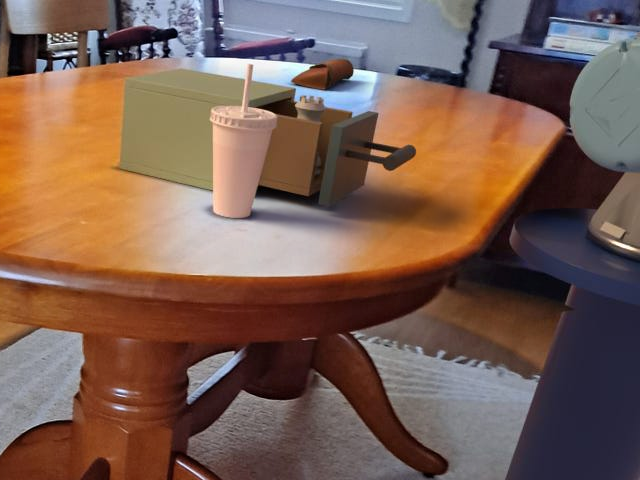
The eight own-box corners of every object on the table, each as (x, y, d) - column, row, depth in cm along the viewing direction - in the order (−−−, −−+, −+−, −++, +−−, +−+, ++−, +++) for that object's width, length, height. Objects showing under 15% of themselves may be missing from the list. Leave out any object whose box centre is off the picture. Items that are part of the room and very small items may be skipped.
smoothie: (196, 217, 81) (213, 64, 74) (202, 199, 86) (218, 55, 80) (262, 225, 80) (285, 72, 74) (264, 207, 86) (285, 63, 79)
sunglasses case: (313, 72, 177) (333, 45, 173) (337, 94, 176) (359, 68, 172) (288, 81, 162) (310, 52, 158) (315, 105, 162) (338, 77, 158)
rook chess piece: (304, 167, 94) (317, 93, 90) (328, 178, 90) (342, 101, 86) (270, 169, 92) (282, 93, 88) (293, 180, 88) (306, 101, 84)
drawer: (411, 195, 92) (428, 121, 88) (380, 218, 82) (397, 137, 79) (253, 161, 99) (263, 92, 96) (209, 179, 90) (218, 103, 86)
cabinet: (282, 174, 99) (296, 88, 94) (236, 196, 89) (249, 100, 84) (173, 150, 105) (181, 68, 100) (119, 168, 95) (124, 77, 90)
